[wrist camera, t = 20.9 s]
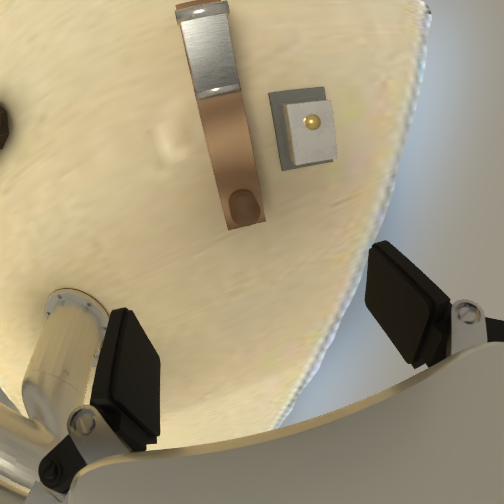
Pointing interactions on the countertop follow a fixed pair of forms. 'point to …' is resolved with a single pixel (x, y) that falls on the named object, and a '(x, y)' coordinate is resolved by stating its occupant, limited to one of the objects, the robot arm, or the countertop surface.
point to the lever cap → (308, 131)
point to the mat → (274, 101)
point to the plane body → (230, 151)
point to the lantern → (3, 127)
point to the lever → (209, 48)
